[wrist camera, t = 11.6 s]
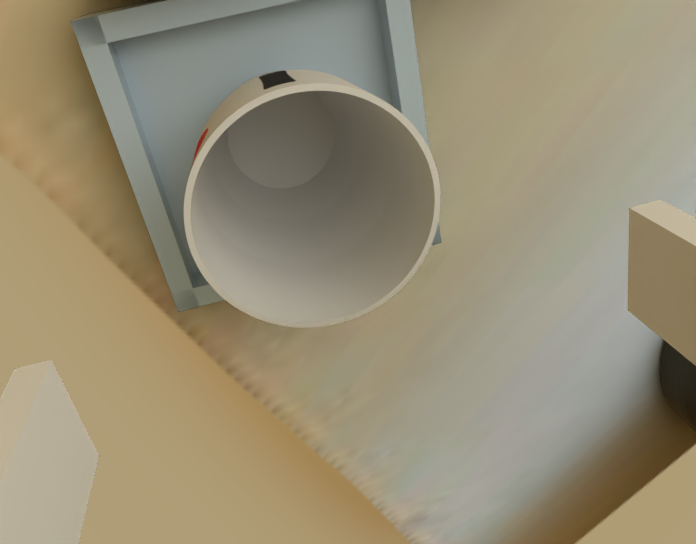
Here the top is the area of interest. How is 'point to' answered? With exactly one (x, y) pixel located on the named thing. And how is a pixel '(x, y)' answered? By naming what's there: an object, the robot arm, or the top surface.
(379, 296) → the cup
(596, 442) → the top surface
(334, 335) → the top surface
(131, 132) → the tray
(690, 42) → the top surface
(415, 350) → the top surface
